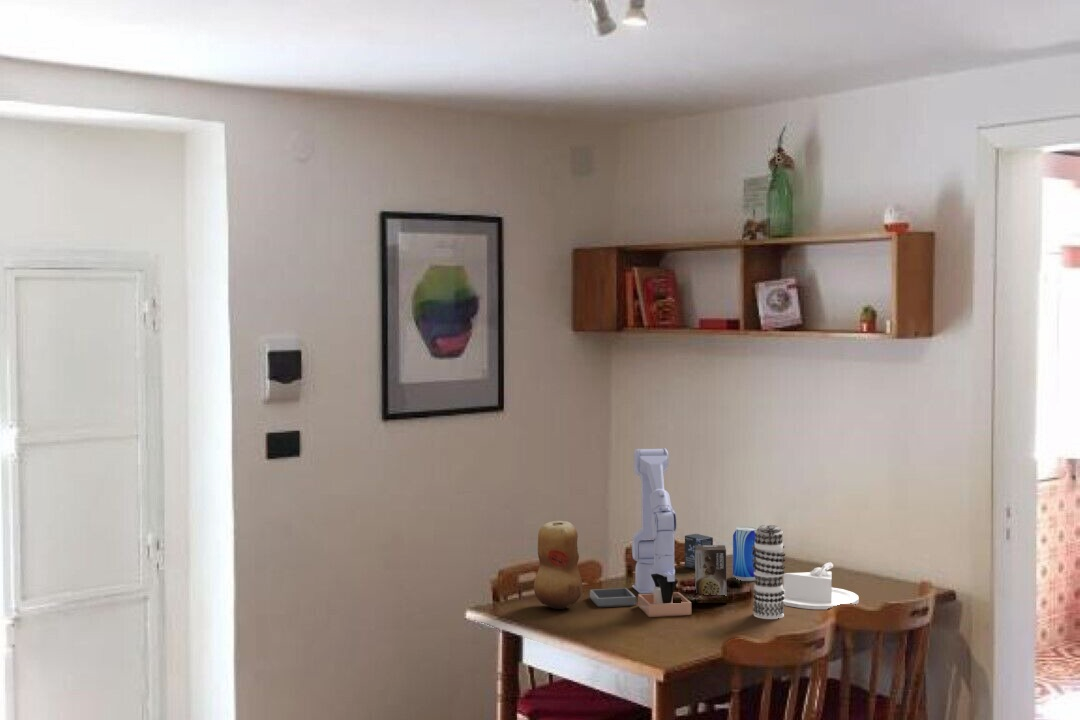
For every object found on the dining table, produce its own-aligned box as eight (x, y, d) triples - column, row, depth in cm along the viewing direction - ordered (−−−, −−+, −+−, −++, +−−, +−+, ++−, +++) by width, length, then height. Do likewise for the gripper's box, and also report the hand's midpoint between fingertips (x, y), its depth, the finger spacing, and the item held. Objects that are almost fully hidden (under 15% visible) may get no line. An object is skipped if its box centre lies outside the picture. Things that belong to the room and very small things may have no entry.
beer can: (740, 574, 398) (740, 524, 397) (764, 577, 393) (764, 527, 392) (728, 579, 391) (728, 529, 390) (752, 582, 386) (752, 531, 386)
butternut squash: (533, 614, 351) (532, 526, 350) (535, 602, 364) (534, 517, 363) (582, 614, 350) (581, 526, 349) (582, 602, 364) (582, 517, 362)
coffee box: (725, 599, 366) (725, 544, 365) (727, 604, 360) (727, 549, 359) (694, 598, 367) (694, 544, 366) (695, 604, 361) (695, 548, 360)
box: (684, 567, 410) (684, 535, 409) (697, 564, 413) (697, 533, 412) (700, 571, 403) (700, 539, 403) (713, 569, 407) (713, 536, 406)
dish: (857, 591, 375) (857, 554, 374) (859, 612, 351) (859, 572, 350) (774, 588, 381) (774, 551, 380) (770, 608, 356) (770, 569, 356)
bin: (638, 606, 359) (638, 594, 358) (679, 604, 361) (679, 592, 360) (649, 617, 347) (649, 604, 346) (691, 614, 349) (691, 602, 348)
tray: (589, 598, 369) (589, 589, 369) (626, 596, 371) (626, 587, 371) (598, 607, 358) (598, 598, 358) (636, 605, 360) (636, 596, 360)
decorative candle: (749, 611, 352) (749, 523, 351) (782, 611, 352) (782, 523, 351) (754, 619, 343) (754, 529, 342) (788, 619, 343) (788, 529, 341)
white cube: (653, 604, 355) (653, 586, 355) (669, 603, 356) (668, 586, 356) (657, 608, 351) (657, 590, 351) (673, 607, 352) (672, 589, 351)
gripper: (643, 549, 359) (644, 595, 360) (657, 559, 345) (657, 608, 346) (667, 548, 360) (667, 594, 361) (681, 558, 346) (682, 606, 347)
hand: (664, 601), depth 353 cm, fingers closed on white cube, 5 cm apart
